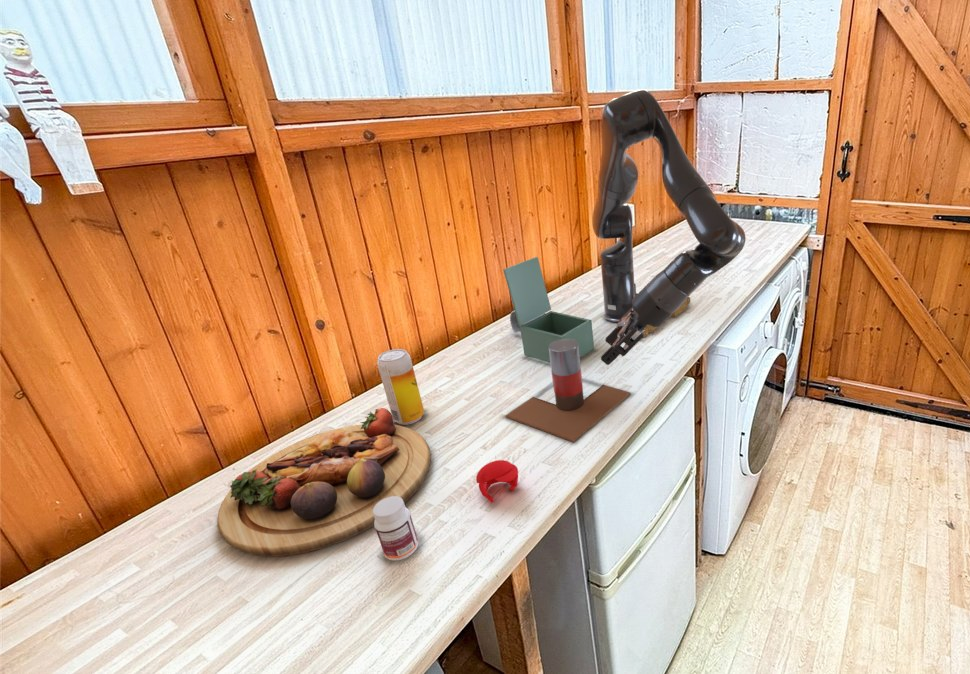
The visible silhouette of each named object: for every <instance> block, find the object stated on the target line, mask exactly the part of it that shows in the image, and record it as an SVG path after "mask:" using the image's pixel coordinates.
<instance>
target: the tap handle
mask: <svg viewBox="0 0 970 674" xmlns="http://www.w3.org/2000/svg"><path fill="white" fill-rule="evenodd" d="M690 303H691V297H690V296H689V297H688V298H687V299H686V300H685V301H684V303H683V304H682V305H681V306H680V307H679V308H678V309H677V310H676V311H675V312H674V313H673V314H672V315H671V316H670V317H668V318H667V319H666V320H668V319H671V318H676V317H678V316H680V314H681V313H683V312H684V311H685V310H686V309H687V308H688V305H689V304H690ZM657 328H658V327H653V326H651V325H646V327H645V328H644V329H645V331H644V332H643V334H644V336H643V338H642V339H644V338H646V337H647V336H648V335H650V334H652V333H653V332H654V331H655V330H657Z"/></svg>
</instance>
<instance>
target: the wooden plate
mask: <svg viewBox="0 0 970 674" xmlns="http://www.w3.org/2000/svg"><path fill="white" fill-rule="evenodd" d="M359 423H360V424H355V425H348V426H344V427H339V428H334V429H331V430H327V431H323V432H321V433H317V434H315V435H311V436H309V437H306V438H304V439H301V440H299V441H296V442H294V443H292V444H290V445H289V446H286V447H285V448H282V449H280V450H278V451H277V452H275V453H272V454H271V455H270V456H269V457H267V458H265V459H264V460H262V461H260V462H259V463H258V464H256V465H255V466H254V467H252V468H251V469H250V470H248V471H244V472H243V473H240V474H239V475H238V476H237V477H236V478H234V480H232V482H231V484H230V485H229V487H230V489H229V491H227V494H226V495H225V497H224V499H223V500H222V502H221V504H220V506H219V510H218V513H217V514H218V515H217V518H216V519H217V529H218V532H219V534H220V536H221V538H222V539H223V540H224V541H225V542H226V543H227V544H228V545H229V546H231V547H232V548H233V549H235V550H238V551H240V552H242V553H246V554H249V555H253V556H259V557H281V556H282V557H283V556H292V555H299V554H305V553H308V552H312V551H317V550H321V549H324V548H326V547H330V546H333V545H336V544H338V543H340V542H343V541H346V540H348V539H350V538H352V537H355V536H357V535H359V534H361V533H363V532H365V531H366V530H368V529H370V528H372V527H374V521H375V518H374V514H373V508H374V506H375V505H376V504H377V503H378V502H379V501H381V500H383V499H385V498H387V497H392V496H397V497H400V498H402V499H403V502H404V504H406V502H407V501H408V500H409V499H410V498H411V497H412V496H414V494H415V493H416V492H417V491H418V489H419V488H420V487H421V486H422V484H423V482H424V481H425V478H426V477H427V474H428V472H429V469H430V466H431V460H432V454H431V453H432V452H431V449H430V446H429V444H428V442H427V441H426V439H425V438H424V437H423V436H422V435H421V434H420V433H418V432H417V431H415V430H414V429H411V428H409V427H406V426H404V425H401V424H394V420H393V417H392V414H391V411H390V410H389V409H388V408H385V407H380V408H375V410H374V413H373V412H371V411H369V413H367V416H365V421H361V422H359Z"/></svg>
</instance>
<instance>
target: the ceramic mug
mask: <svg viewBox="0 0 970 674" xmlns="http://www.w3.org/2000/svg"><path fill="white" fill-rule="evenodd" d="M544 314H546V313H544ZM544 314H542V315H544ZM542 315H540V316H542ZM540 316H538V317H540ZM538 317H536V318H538ZM536 318H534V319H536ZM534 319H532V320H534ZM532 320H530V321H532ZM530 321H528V322H530ZM509 322H510V327H511V328H512V331H513V332H514V333H515V334H516V333H519V332H521V329H520V326H522V325H524V324H526V323H528V322H526V323H524V324H522V325H519V324H518V320H517V317H516V313H515V310H512V311H511V312H510V314H509Z"/></svg>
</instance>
